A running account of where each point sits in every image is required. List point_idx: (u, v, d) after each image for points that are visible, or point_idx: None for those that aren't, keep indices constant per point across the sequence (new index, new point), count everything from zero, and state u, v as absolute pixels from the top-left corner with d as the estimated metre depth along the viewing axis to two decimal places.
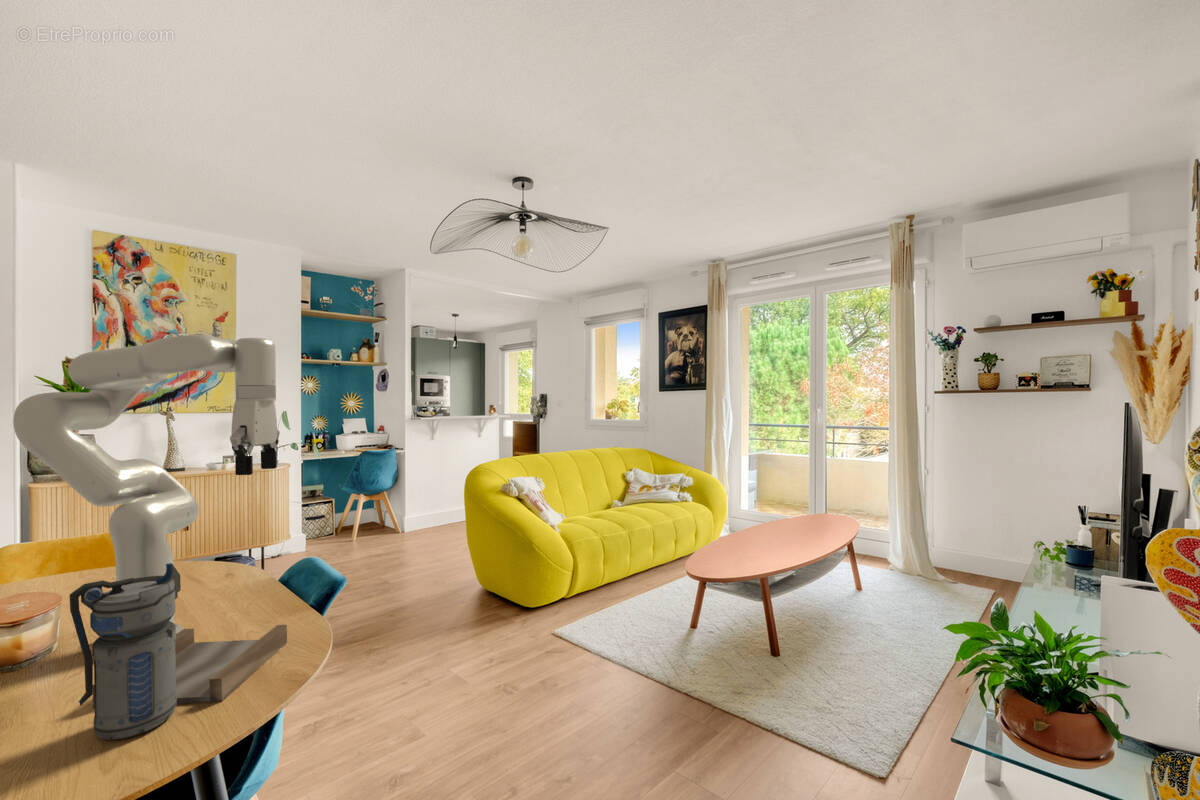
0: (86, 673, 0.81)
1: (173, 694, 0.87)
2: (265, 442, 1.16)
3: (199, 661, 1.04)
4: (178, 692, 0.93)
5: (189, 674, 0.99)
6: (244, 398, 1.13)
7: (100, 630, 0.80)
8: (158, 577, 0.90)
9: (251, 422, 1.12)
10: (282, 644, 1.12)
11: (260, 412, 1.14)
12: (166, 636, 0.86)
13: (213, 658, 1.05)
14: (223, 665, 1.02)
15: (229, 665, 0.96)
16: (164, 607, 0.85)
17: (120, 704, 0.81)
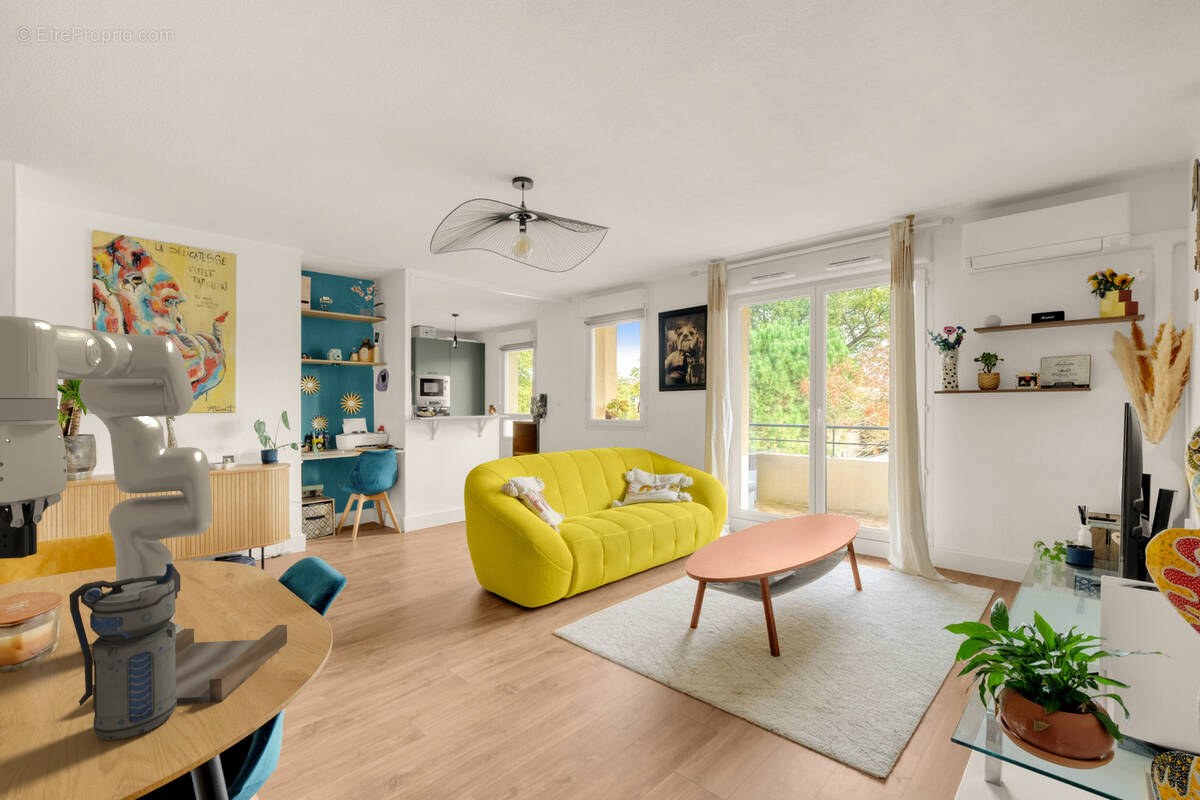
0: (86, 673, 0.81)
1: (173, 694, 0.87)
2: (31, 496, 0.67)
3: (199, 661, 1.04)
4: (178, 692, 0.93)
5: (189, 674, 0.99)
6: None
7: (100, 630, 0.80)
8: (158, 577, 0.90)
9: None
10: (282, 644, 1.12)
11: (12, 445, 0.65)
12: (166, 636, 0.86)
13: (213, 658, 1.05)
14: (223, 665, 1.02)
15: (229, 665, 0.96)
16: (164, 607, 0.85)
17: (120, 704, 0.81)
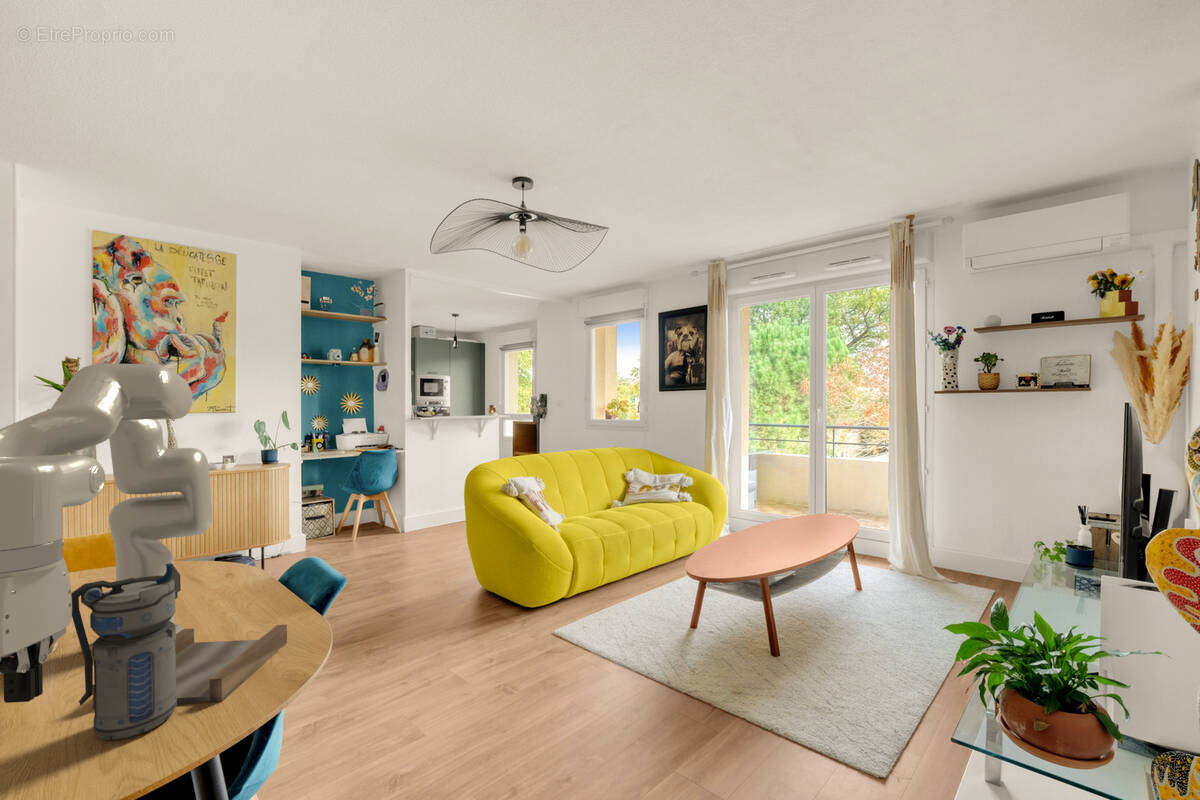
0: (86, 673, 0.81)
1: (173, 694, 0.87)
2: (36, 640, 0.68)
3: (199, 661, 1.04)
4: (178, 692, 0.93)
5: (189, 674, 0.99)
6: None
7: (100, 630, 0.80)
8: (158, 577, 0.90)
9: None
10: (282, 644, 1.12)
11: (18, 595, 0.66)
12: (166, 636, 0.86)
13: (213, 658, 1.05)
14: (223, 665, 1.02)
15: (229, 665, 0.96)
16: (164, 607, 0.85)
17: (120, 704, 0.81)
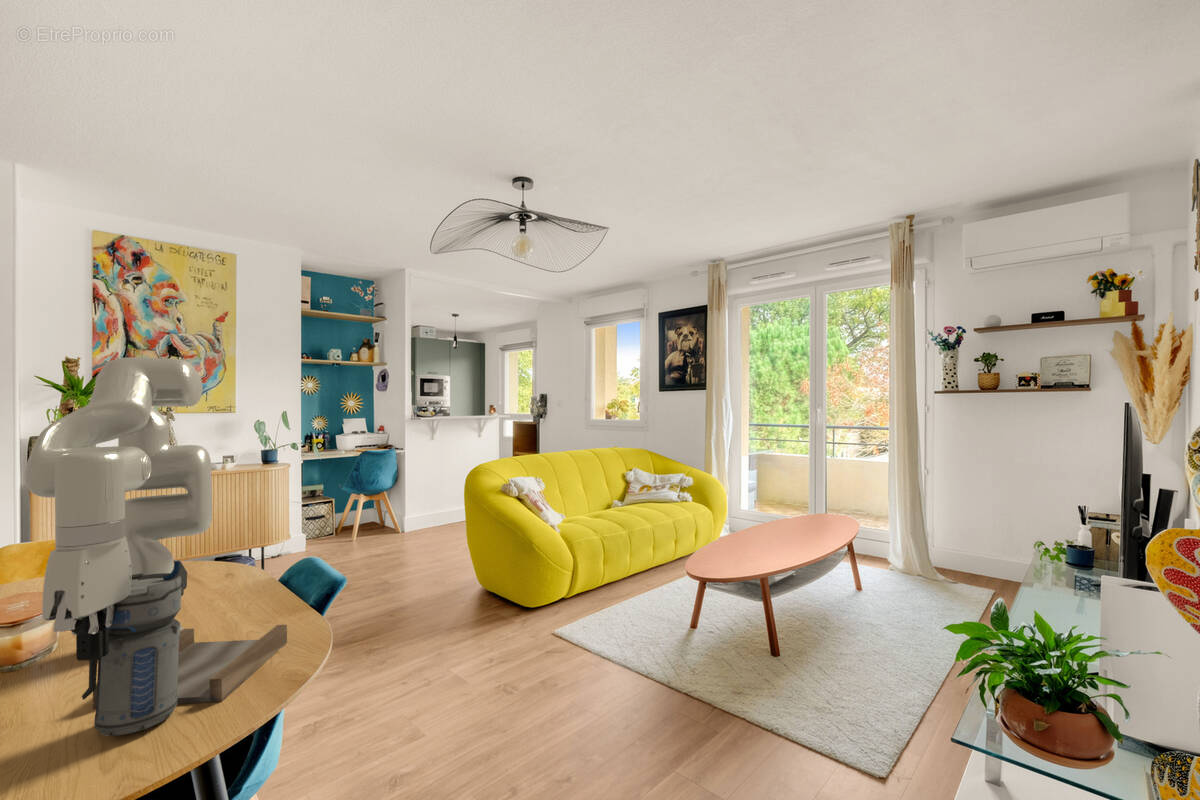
0: (90, 667, 0.81)
1: (174, 692, 0.87)
2: (104, 606, 0.78)
3: (199, 661, 1.04)
4: (178, 692, 0.93)
5: (189, 674, 0.99)
6: (65, 547, 0.75)
7: None
8: (165, 574, 0.91)
9: (72, 585, 0.74)
10: (282, 644, 1.12)
11: (91, 565, 0.76)
12: (171, 632, 0.86)
13: (213, 658, 1.05)
14: (223, 665, 1.02)
15: (229, 665, 0.96)
16: (170, 603, 0.86)
17: (122, 698, 0.81)
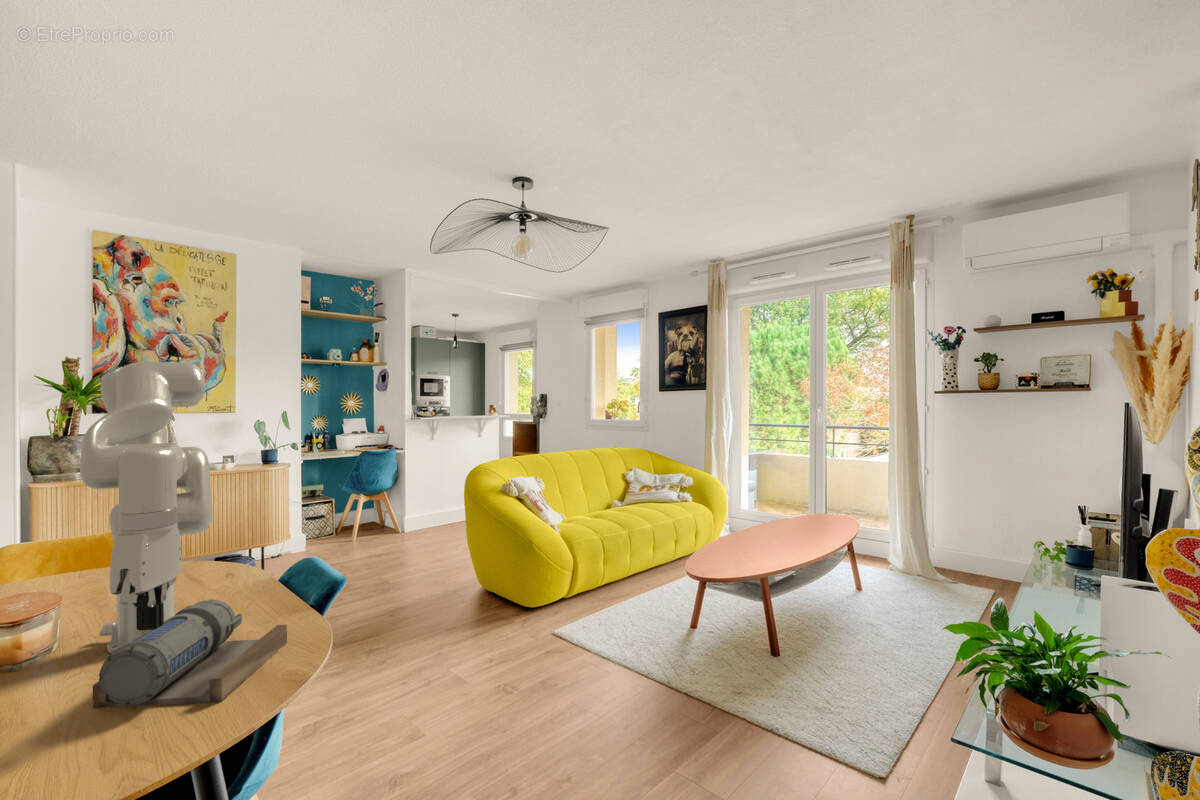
0: None
1: (171, 651, 0.93)
2: (160, 583, 0.89)
3: (199, 661, 1.04)
4: (178, 692, 0.93)
5: (189, 674, 0.99)
6: (128, 531, 0.86)
7: None
8: None
9: (135, 564, 0.85)
10: (282, 644, 1.12)
11: (150, 547, 0.87)
12: (203, 620, 1.03)
13: (213, 658, 1.05)
14: (223, 665, 1.02)
15: (229, 665, 0.96)
16: (217, 609, 1.07)
17: (139, 636, 0.94)
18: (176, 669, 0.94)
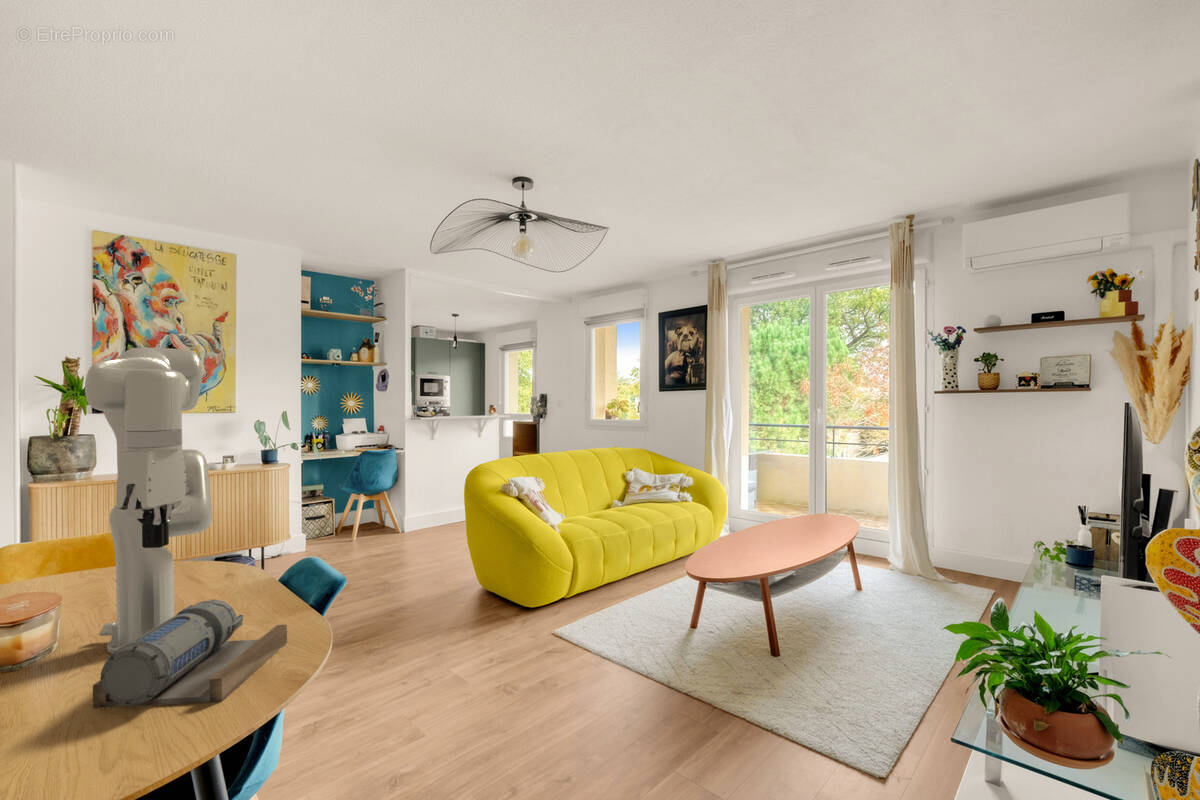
0: None
1: (173, 652, 0.93)
2: (166, 502, 0.91)
3: None
4: (178, 692, 0.93)
5: (189, 674, 0.99)
6: (134, 448, 0.87)
7: None
8: None
9: (141, 480, 0.86)
10: (282, 644, 1.12)
11: (156, 465, 0.88)
12: (205, 621, 1.03)
13: (213, 658, 1.05)
14: (223, 665, 1.02)
15: (229, 665, 0.96)
16: (219, 610, 1.08)
17: (142, 635, 0.94)
18: (177, 670, 0.94)
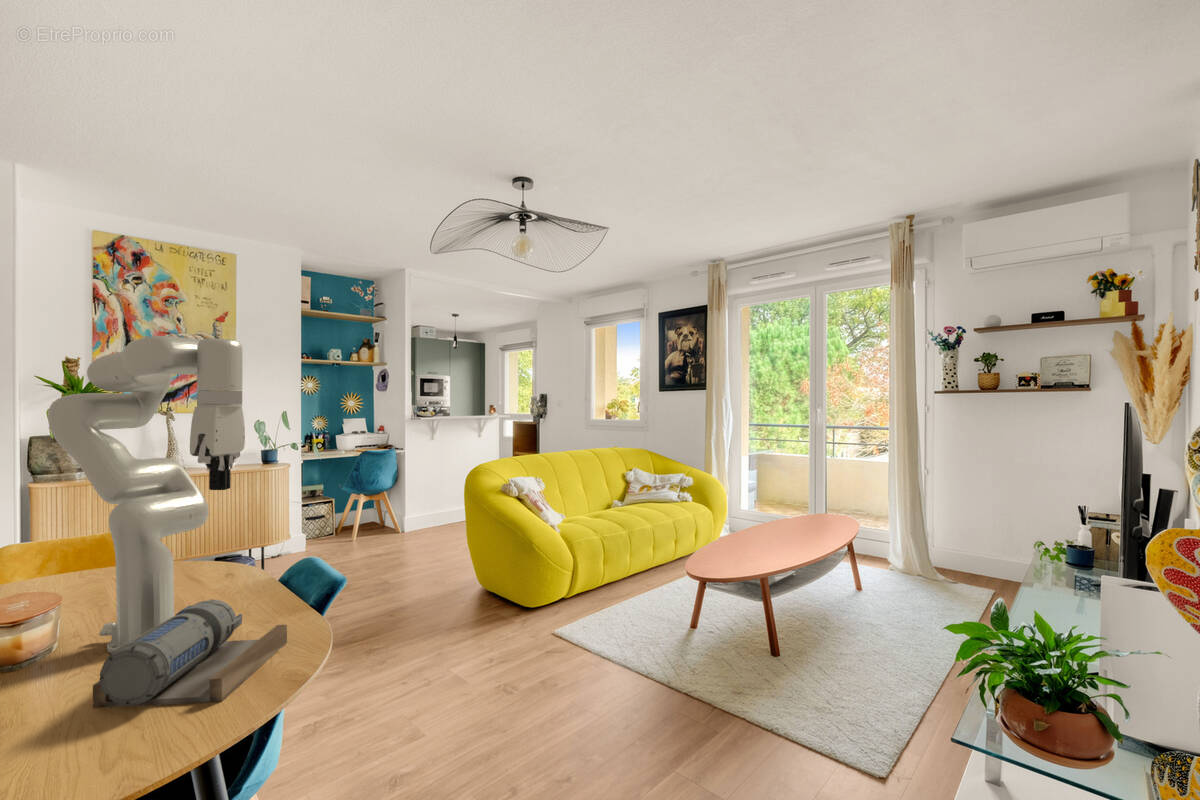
0: None
1: (172, 651, 0.93)
2: (228, 452, 1.07)
3: None
4: (178, 692, 0.93)
5: (189, 674, 0.99)
6: (204, 404, 1.04)
7: None
8: None
9: (210, 431, 1.03)
10: (282, 644, 1.12)
11: (221, 419, 1.05)
12: (204, 620, 1.03)
13: (213, 658, 1.05)
14: (223, 665, 1.02)
15: (229, 665, 0.96)
16: (218, 609, 1.07)
17: None
18: (176, 669, 0.94)
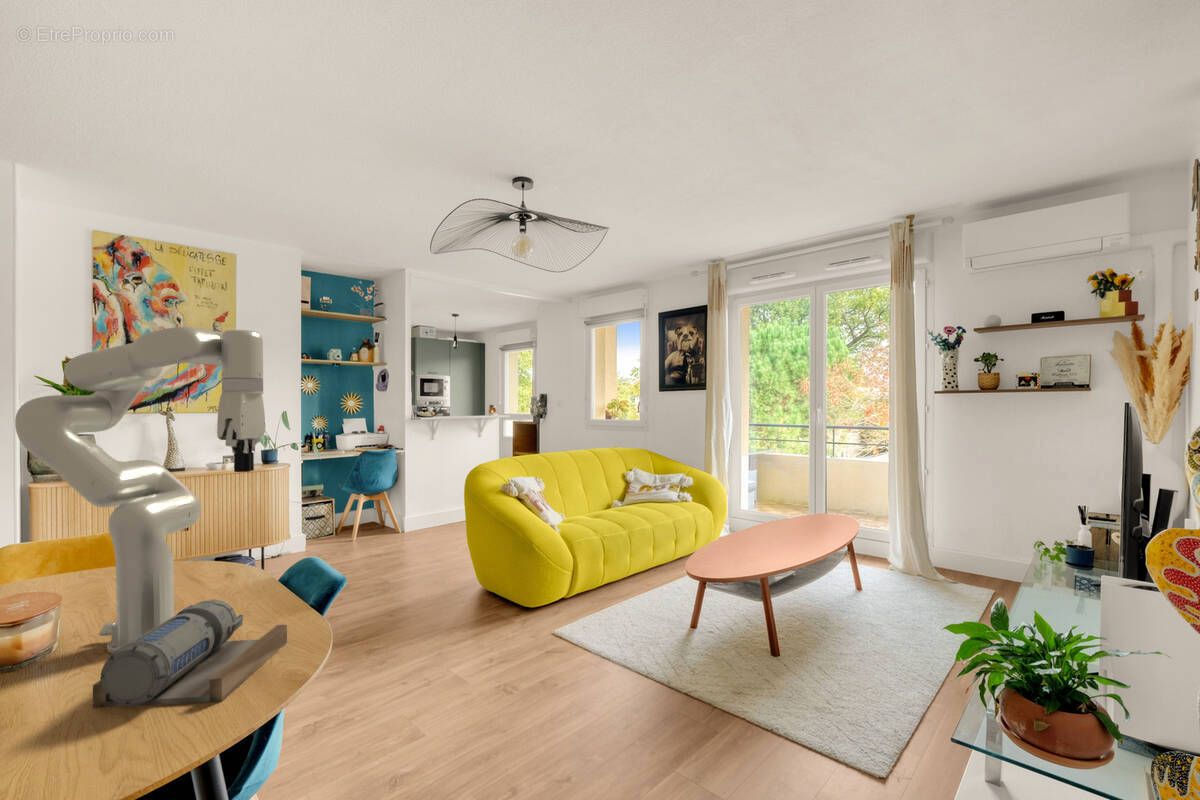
0: None
1: (173, 652, 0.93)
2: (252, 436, 1.15)
3: None
4: (178, 692, 0.93)
5: (189, 674, 0.99)
6: (230, 391, 1.11)
7: None
8: None
9: (236, 415, 1.10)
10: (282, 644, 1.12)
11: (246, 405, 1.12)
12: (205, 621, 1.03)
13: (213, 658, 1.05)
14: (223, 665, 1.02)
15: (229, 665, 0.96)
16: (219, 610, 1.08)
17: (142, 635, 0.94)
18: (177, 670, 0.94)
